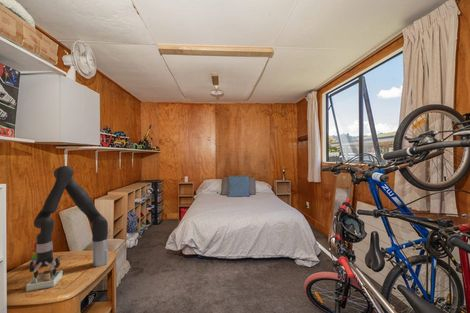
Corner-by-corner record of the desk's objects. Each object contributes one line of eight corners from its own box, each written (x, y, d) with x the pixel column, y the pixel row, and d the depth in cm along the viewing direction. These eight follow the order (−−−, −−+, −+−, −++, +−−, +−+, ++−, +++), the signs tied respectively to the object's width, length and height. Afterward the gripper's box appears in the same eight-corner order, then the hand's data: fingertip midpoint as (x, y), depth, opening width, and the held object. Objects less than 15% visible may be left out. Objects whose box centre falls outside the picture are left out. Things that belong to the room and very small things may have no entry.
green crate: (62, 275, 145) (62, 270, 145) (53, 286, 132) (53, 280, 132) (37, 279, 140) (37, 274, 140) (26, 291, 128) (26, 285, 128)
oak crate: (53, 278, 140) (53, 269, 140) (49, 283, 135) (49, 273, 135) (42, 280, 138) (41, 270, 138) (37, 285, 133) (36, 275, 133)
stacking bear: (38, 269, 154) (38, 243, 154) (27, 268, 156) (26, 242, 156) (54, 261, 164) (53, 237, 164) (43, 260, 166) (42, 236, 166)
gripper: (61, 245, 142) (61, 270, 142) (33, 249, 137) (34, 275, 138) (56, 250, 135) (56, 277, 135) (26, 254, 130) (27, 281, 130)
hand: (45, 276), depth 136 cm, fingers open, 8 cm apart
